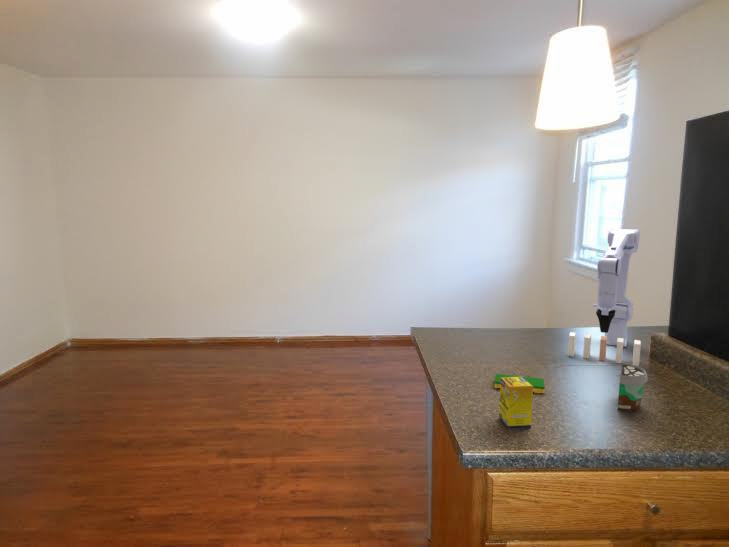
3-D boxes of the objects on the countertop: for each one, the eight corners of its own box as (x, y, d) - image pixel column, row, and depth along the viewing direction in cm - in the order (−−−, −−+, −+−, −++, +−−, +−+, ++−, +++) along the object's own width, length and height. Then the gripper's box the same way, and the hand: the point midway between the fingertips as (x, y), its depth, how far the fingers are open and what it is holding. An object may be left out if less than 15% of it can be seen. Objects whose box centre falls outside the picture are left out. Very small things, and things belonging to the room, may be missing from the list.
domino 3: (598, 360, 156) (600, 339, 155) (600, 356, 160) (601, 335, 159) (604, 361, 155) (606, 340, 154) (605, 357, 159) (607, 336, 158)
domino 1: (567, 355, 161) (568, 335, 160) (569, 351, 165) (570, 332, 164) (573, 356, 160) (574, 336, 159) (574, 352, 164) (576, 332, 163)
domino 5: (632, 365, 151) (634, 343, 150) (632, 360, 155) (634, 339, 154) (638, 366, 150) (640, 344, 149) (638, 361, 154) (640, 340, 153)
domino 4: (615, 362, 153) (617, 341, 152) (616, 358, 157) (617, 337, 156) (621, 363, 152) (623, 342, 151) (621, 359, 157) (623, 338, 155)
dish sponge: (495, 380, 140) (495, 373, 140) (543, 386, 136) (543, 378, 135) (494, 389, 133) (494, 381, 133) (544, 395, 129) (544, 387, 129)
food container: (644, 418, 114) (648, 380, 112) (617, 412, 117) (620, 375, 116) (645, 400, 124) (648, 365, 123) (619, 395, 127) (622, 361, 126)
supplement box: (498, 418, 115) (499, 377, 113) (521, 416, 115) (522, 376, 114) (507, 429, 109) (509, 386, 107) (531, 428, 109) (533, 385, 108)
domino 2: (583, 358, 158) (584, 337, 157) (584, 353, 162) (585, 333, 161) (588, 358, 157) (590, 338, 156) (589, 354, 162) (591, 334, 160)
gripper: (595, 288, 162) (593, 324, 164) (592, 295, 150) (589, 334, 152) (618, 289, 158) (615, 327, 160) (616, 297, 146) (613, 337, 148)
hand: (604, 331), depth 156 cm, fingers open, 3 cm apart
